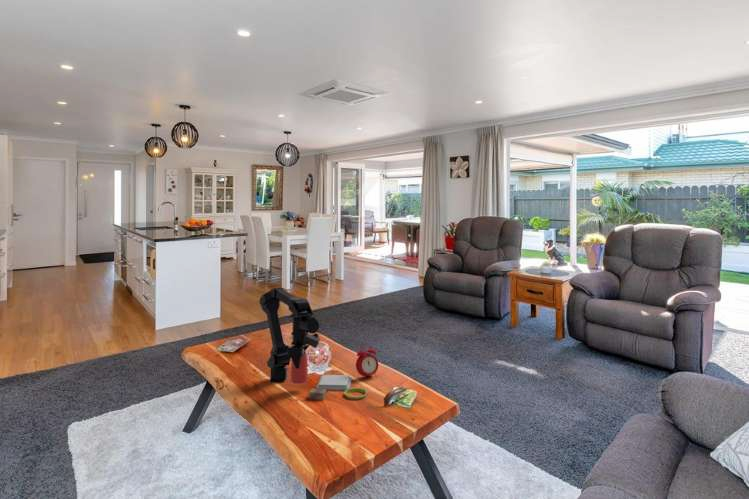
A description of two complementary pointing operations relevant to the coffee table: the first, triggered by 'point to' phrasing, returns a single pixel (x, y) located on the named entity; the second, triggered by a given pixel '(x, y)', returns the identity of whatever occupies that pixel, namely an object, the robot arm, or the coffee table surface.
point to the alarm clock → (366, 362)
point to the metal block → (317, 394)
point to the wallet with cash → (393, 394)
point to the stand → (334, 382)
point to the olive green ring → (355, 391)
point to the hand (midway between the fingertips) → (299, 365)
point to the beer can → (299, 370)
